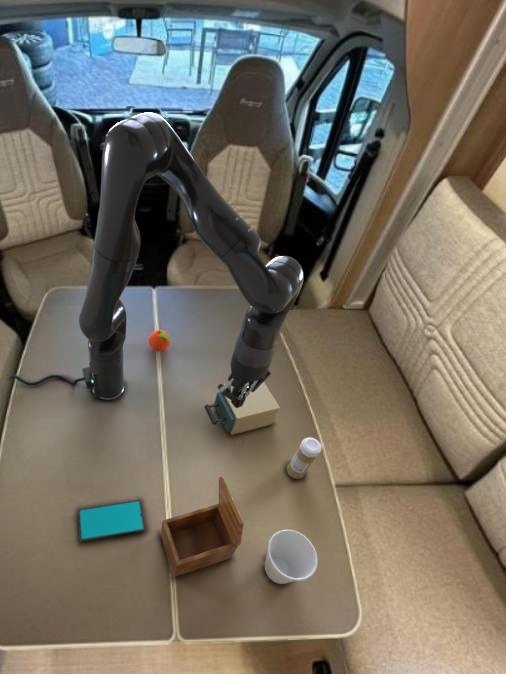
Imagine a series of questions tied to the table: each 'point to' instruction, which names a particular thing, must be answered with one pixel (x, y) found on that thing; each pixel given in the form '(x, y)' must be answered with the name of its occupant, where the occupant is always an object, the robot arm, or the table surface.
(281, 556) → the cup
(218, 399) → the drawer
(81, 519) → the smartphone
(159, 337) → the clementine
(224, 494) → the chest lid
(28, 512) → the table surface
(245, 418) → the cabinet
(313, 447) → the sprinkles bottle
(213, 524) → the chest
